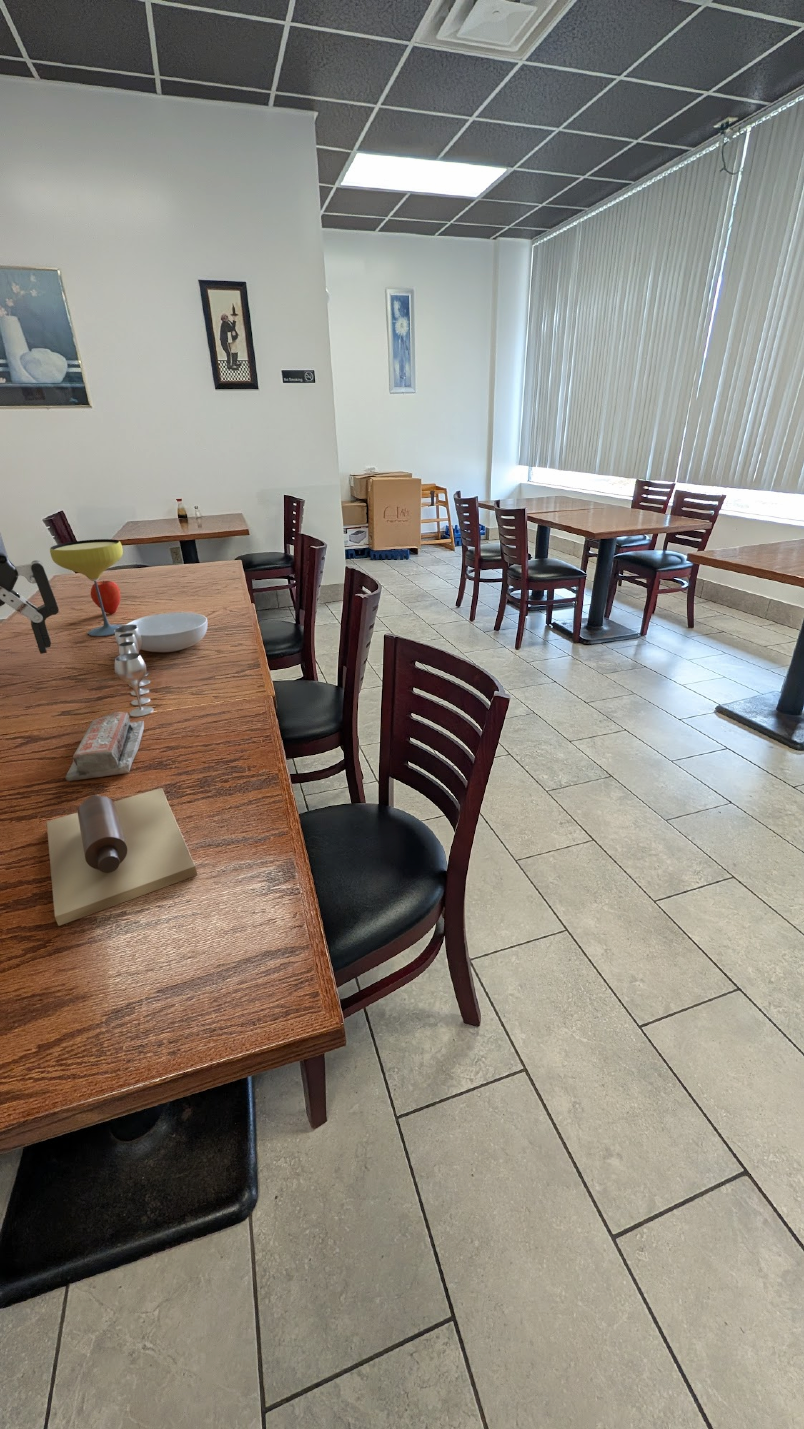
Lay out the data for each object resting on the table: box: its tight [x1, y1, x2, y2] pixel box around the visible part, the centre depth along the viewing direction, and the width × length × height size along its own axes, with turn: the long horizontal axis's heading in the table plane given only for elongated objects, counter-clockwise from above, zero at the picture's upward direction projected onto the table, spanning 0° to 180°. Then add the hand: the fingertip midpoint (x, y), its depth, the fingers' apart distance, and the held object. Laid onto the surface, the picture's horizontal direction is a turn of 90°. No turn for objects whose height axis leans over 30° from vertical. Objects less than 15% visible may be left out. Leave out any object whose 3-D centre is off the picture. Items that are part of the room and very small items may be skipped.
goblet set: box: [113, 624, 154, 718], centre depth 127 cm, size 28×6×13 cm, turn 23°
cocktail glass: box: [49, 538, 124, 638], centre depth 168 cm, size 18×18×25 cm
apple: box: [90, 580, 121, 614], centre depth 188 cm, size 9×8×11 cm
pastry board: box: [46, 787, 198, 927], centre depth 80 cm, size 16×22×2 cm
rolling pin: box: [77, 794, 127, 873], centre depth 78 cm, size 16×5×5 cm
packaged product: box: [65, 711, 145, 782], centre depth 104 cm, size 18×5×10 cm
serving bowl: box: [125, 611, 208, 653], centre depth 157 cm, size 21×21×7 cm
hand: (2, 659), depth 68 cm, fingers open, 8 cm apart
